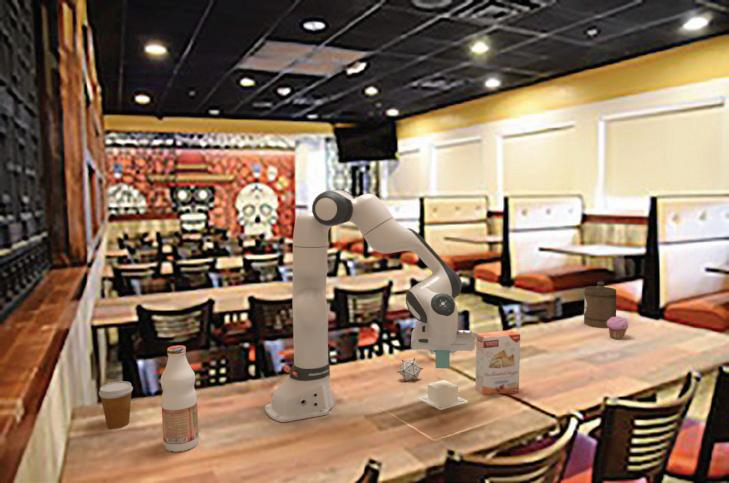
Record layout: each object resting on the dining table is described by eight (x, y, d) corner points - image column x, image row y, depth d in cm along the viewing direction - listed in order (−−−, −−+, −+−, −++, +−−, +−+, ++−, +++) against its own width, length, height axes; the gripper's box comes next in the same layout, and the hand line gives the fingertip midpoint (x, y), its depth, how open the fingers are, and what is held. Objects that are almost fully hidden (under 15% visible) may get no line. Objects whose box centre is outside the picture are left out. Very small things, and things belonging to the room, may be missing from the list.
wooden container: (592, 319, 286) (593, 277, 284) (621, 324, 275) (622, 281, 272) (578, 324, 276) (579, 281, 274) (607, 329, 265) (608, 285, 263)
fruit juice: (174, 456, 146) (168, 355, 143) (157, 445, 153) (152, 348, 150) (205, 444, 153) (200, 347, 150) (188, 434, 160) (183, 340, 157)
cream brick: (441, 405, 175) (441, 390, 175) (427, 398, 181) (427, 384, 180) (458, 400, 179) (458, 386, 178) (444, 394, 185) (444, 379, 184)
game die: (414, 392, 199) (421, 376, 192) (392, 382, 200) (398, 366, 194) (420, 373, 206) (427, 357, 199) (399, 364, 207) (405, 348, 200)
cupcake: (602, 336, 253) (602, 315, 252) (617, 334, 256) (618, 313, 255) (616, 341, 245) (617, 319, 244) (632, 339, 247) (632, 318, 246)
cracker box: (483, 397, 183) (483, 337, 181) (474, 391, 189) (475, 332, 187) (520, 393, 187) (520, 333, 184) (510, 386, 192) (511, 329, 190)
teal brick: (449, 368, 176) (449, 344, 175) (435, 368, 177) (435, 344, 176) (449, 364, 180) (449, 340, 180) (435, 363, 181) (435, 340, 180)
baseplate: (440, 412, 172) (440, 409, 172) (417, 400, 182) (417, 397, 182) (468, 403, 178) (468, 400, 178) (444, 392, 188) (444, 389, 188)
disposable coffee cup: (125, 415, 174) (123, 378, 173) (140, 422, 168) (138, 385, 167) (95, 425, 167) (92, 387, 165) (110, 434, 160) (107, 394, 159)
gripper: (476, 323, 169) (474, 344, 179) (410, 321, 171) (412, 343, 182) (477, 341, 165) (475, 362, 175) (409, 339, 168) (411, 360, 178)
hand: (442, 352), depth 179 cm, fingers closed on teal brick, 4 cm apart
